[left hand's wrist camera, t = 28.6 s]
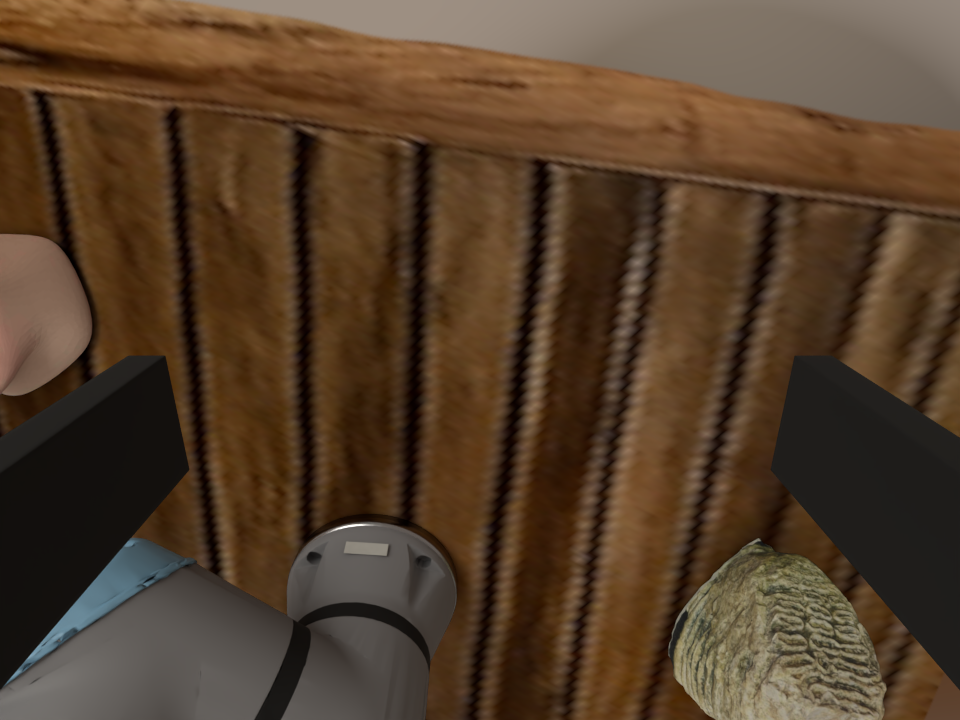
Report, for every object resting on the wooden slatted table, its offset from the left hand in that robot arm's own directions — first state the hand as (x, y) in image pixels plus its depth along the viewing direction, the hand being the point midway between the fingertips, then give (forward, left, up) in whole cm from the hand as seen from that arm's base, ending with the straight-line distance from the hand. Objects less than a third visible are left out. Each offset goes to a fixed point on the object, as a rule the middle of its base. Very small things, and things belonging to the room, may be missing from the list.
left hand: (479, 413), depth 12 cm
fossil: (-35, -25, -32) cm, 53 cm away
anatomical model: (-9, +35, -32) cm, 49 cm away
